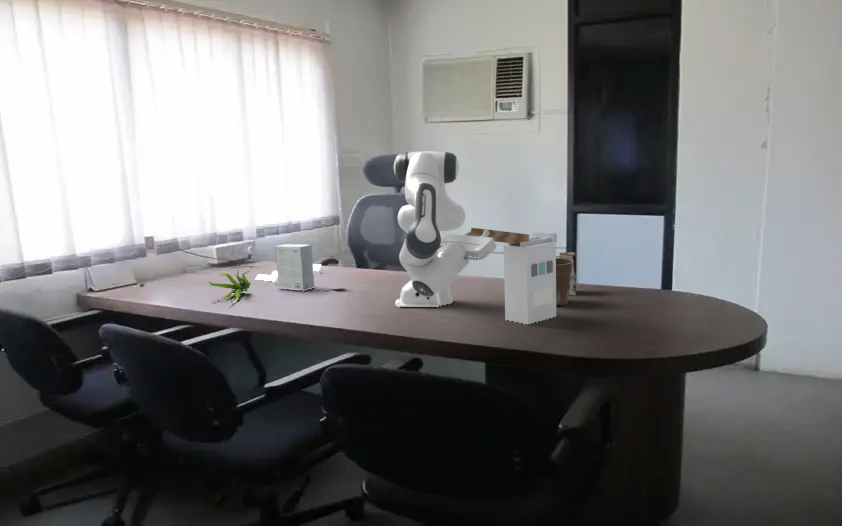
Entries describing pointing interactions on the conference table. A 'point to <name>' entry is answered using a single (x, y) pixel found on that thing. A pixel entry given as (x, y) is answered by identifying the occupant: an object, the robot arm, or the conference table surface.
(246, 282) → the decorative plant
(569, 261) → the plant pot
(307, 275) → the hard drive box
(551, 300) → the switch console stand
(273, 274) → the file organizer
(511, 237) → the lever bar
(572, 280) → the coffee box
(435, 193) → the robot arm
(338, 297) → the conference table surface
